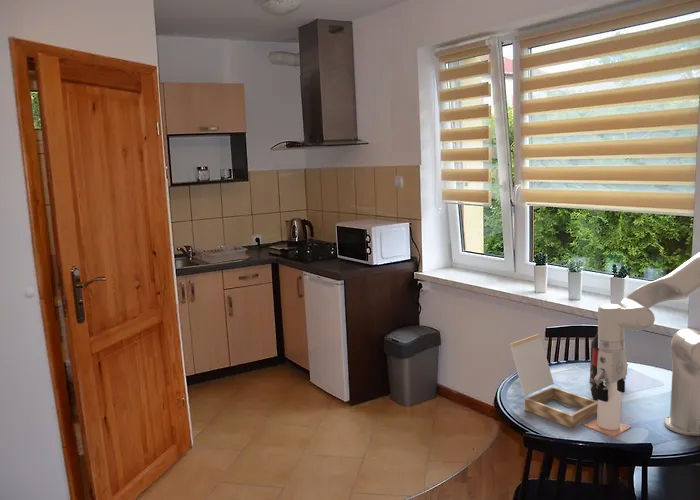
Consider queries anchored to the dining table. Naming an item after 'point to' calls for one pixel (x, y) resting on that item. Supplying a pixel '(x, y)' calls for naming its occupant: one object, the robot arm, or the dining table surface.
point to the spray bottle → (610, 409)
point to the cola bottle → (595, 367)
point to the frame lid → (531, 364)
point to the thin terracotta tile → (612, 433)
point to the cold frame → (570, 420)
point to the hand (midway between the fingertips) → (611, 395)
